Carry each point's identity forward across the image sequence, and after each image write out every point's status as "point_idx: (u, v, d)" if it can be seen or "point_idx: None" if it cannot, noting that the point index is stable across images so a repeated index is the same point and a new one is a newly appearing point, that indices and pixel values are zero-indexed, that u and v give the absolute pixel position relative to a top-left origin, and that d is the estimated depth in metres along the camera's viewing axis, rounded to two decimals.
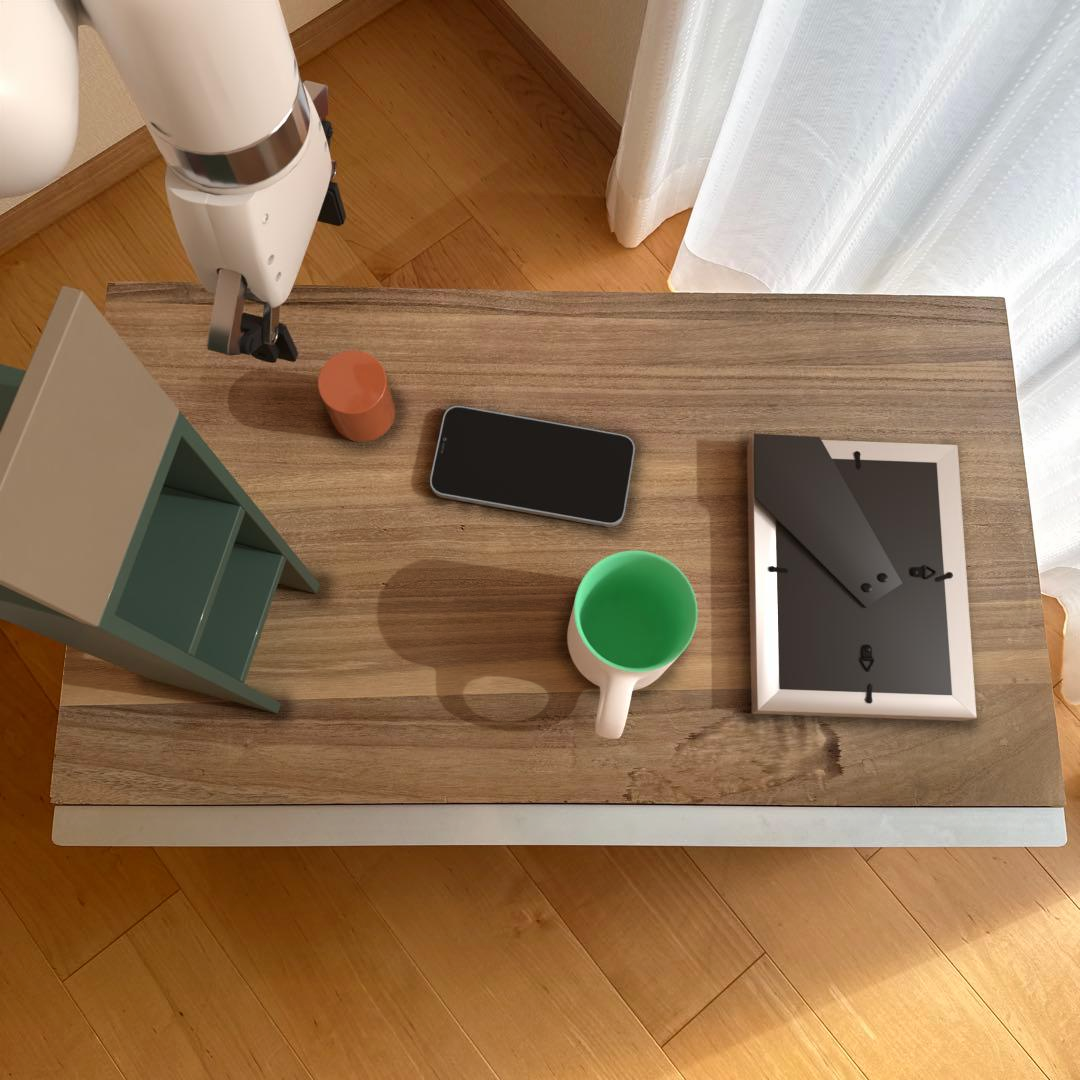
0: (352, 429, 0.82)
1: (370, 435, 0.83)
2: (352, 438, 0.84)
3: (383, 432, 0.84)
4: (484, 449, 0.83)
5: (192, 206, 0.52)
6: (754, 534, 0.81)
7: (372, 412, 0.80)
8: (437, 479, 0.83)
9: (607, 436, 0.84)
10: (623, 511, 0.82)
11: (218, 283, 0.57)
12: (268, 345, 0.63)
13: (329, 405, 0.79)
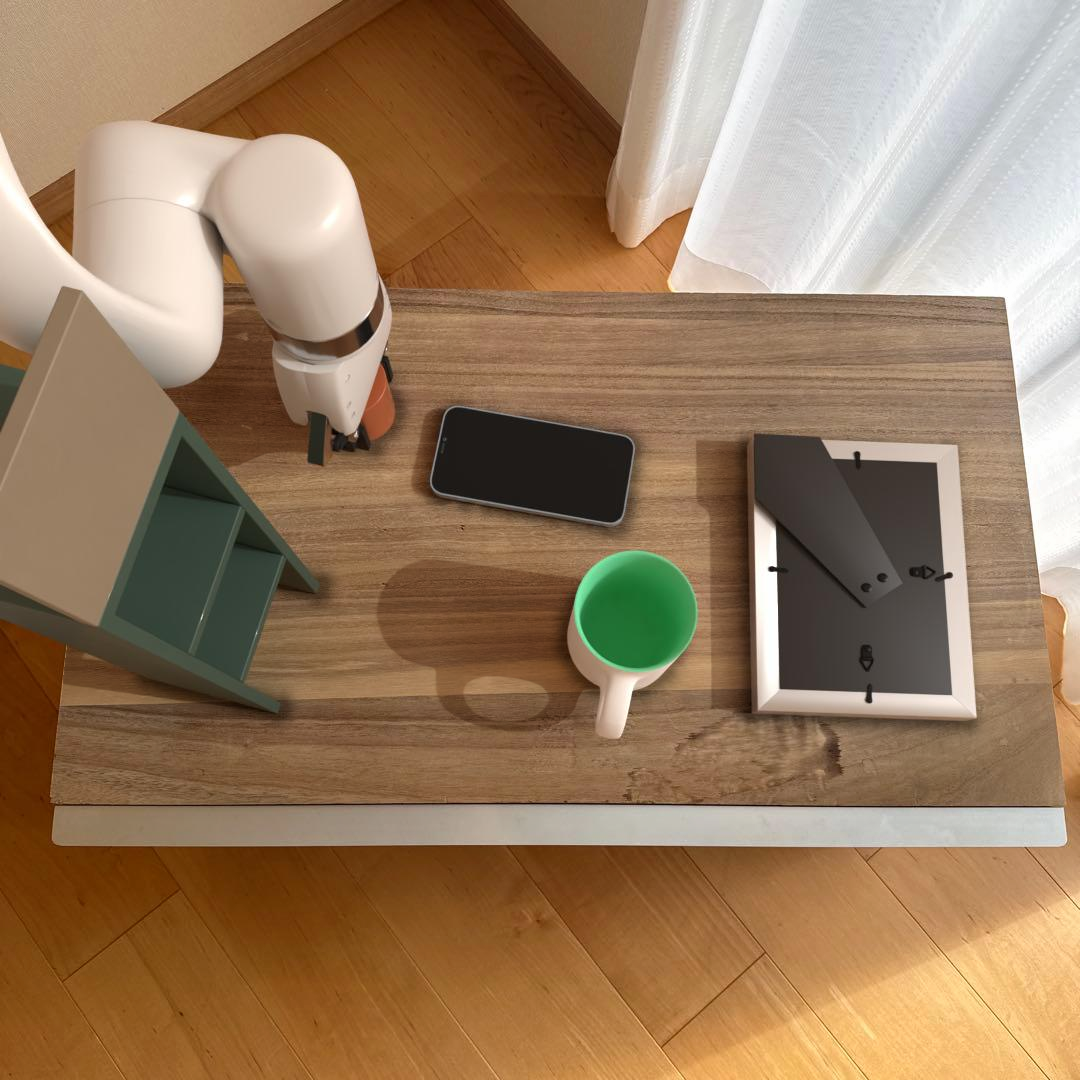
0: None
1: (370, 435, 0.83)
2: None
3: (383, 432, 0.84)
4: (484, 449, 0.83)
5: (293, 373, 0.67)
6: (754, 534, 0.81)
7: (372, 412, 0.80)
8: (437, 479, 0.83)
9: (607, 436, 0.84)
10: (623, 511, 0.82)
11: (310, 421, 0.73)
12: (350, 441, 0.80)
13: None
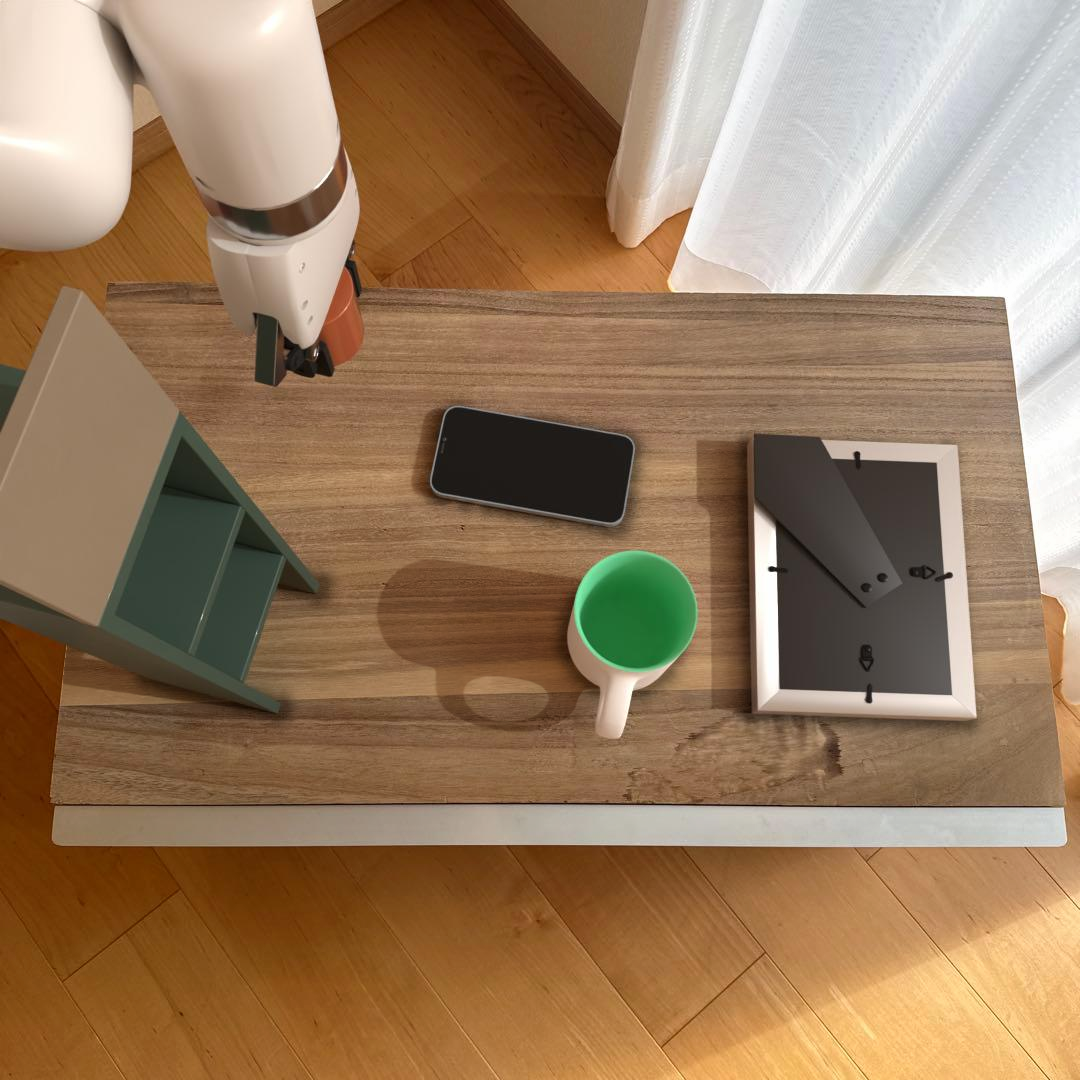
0: None
1: (334, 358, 0.70)
2: None
3: (350, 356, 0.71)
4: (484, 449, 0.83)
5: (233, 256, 0.54)
6: (754, 534, 0.81)
7: (335, 327, 0.66)
8: (437, 479, 0.83)
9: (607, 436, 0.84)
10: (623, 511, 0.82)
11: (257, 327, 0.60)
12: (309, 361, 0.66)
13: None
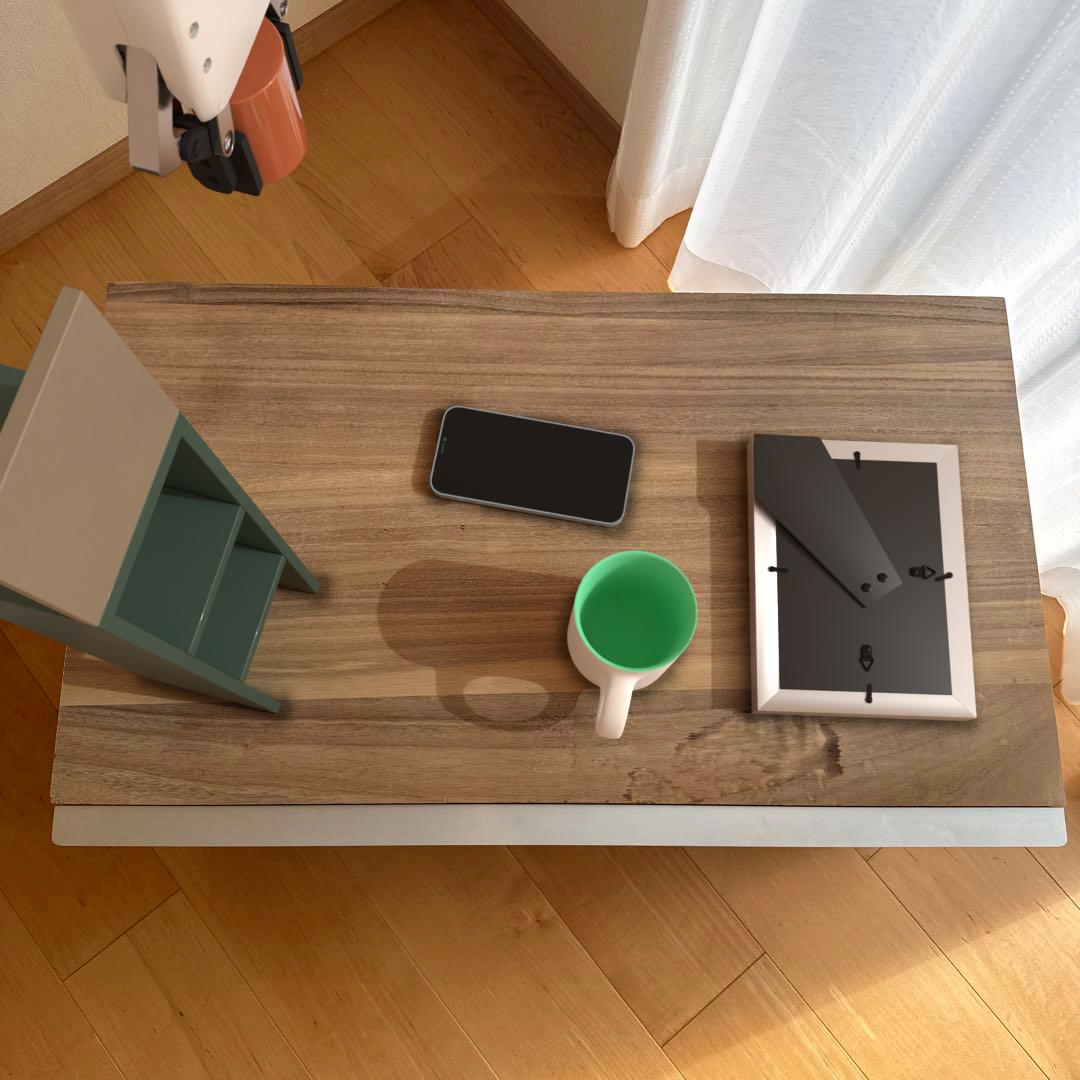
0: None
1: (263, 170, 0.50)
2: None
3: (286, 170, 0.51)
4: (484, 449, 0.83)
5: None
6: (754, 534, 0.81)
7: (259, 109, 0.46)
8: (437, 479, 0.83)
9: (607, 436, 0.84)
10: (623, 511, 0.82)
11: (128, 76, 0.40)
12: (221, 161, 0.47)
13: None
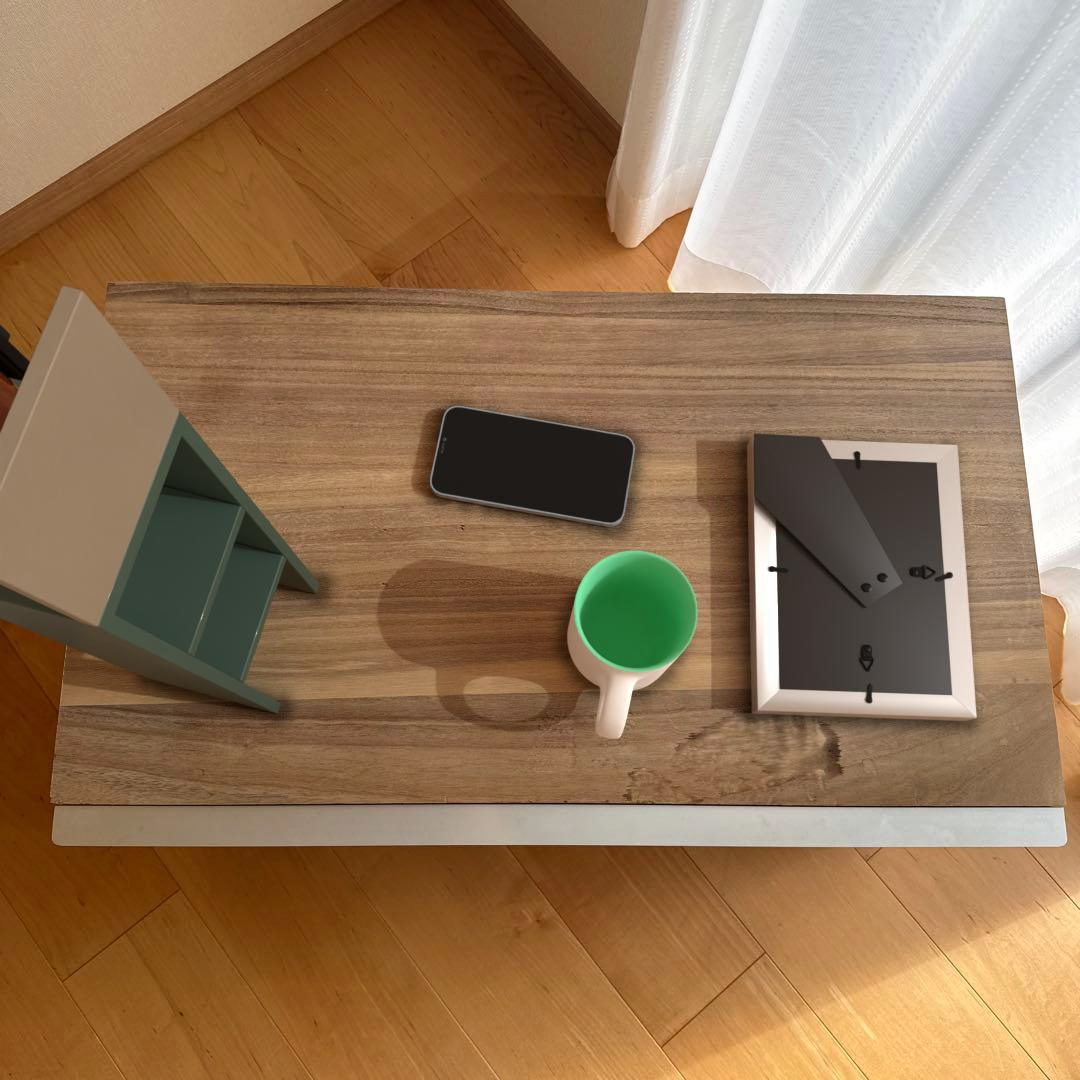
0: None
1: None
2: None
3: None
4: (484, 449, 0.83)
5: None
6: (754, 534, 0.81)
7: None
8: (437, 479, 0.83)
9: (607, 436, 0.84)
10: (623, 511, 0.82)
11: None
12: None
13: None
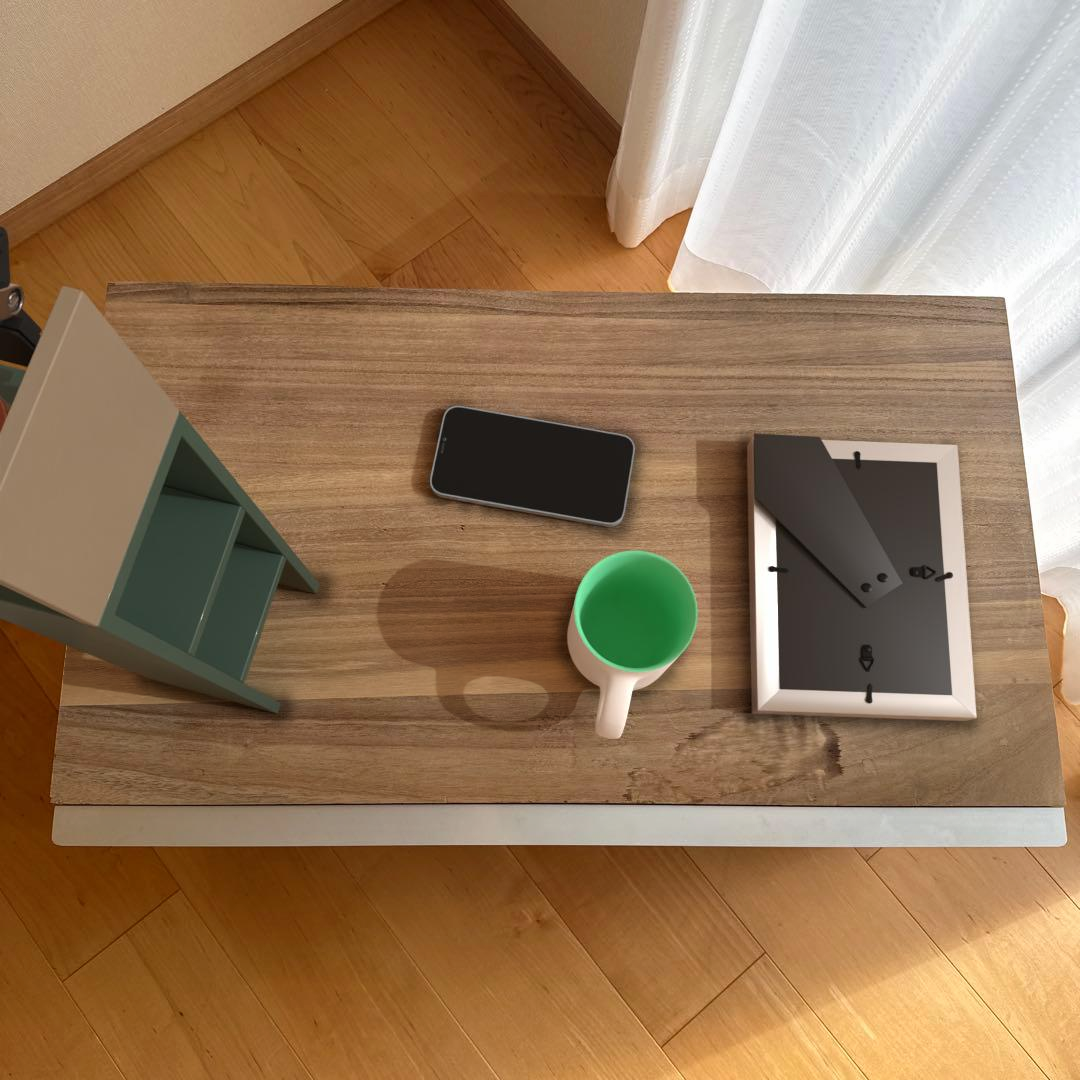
0: None
1: None
2: None
3: None
4: (484, 449, 0.83)
5: None
6: (754, 534, 0.81)
7: None
8: (437, 479, 0.83)
9: (607, 436, 0.84)
10: (623, 511, 0.82)
11: None
12: None
13: None
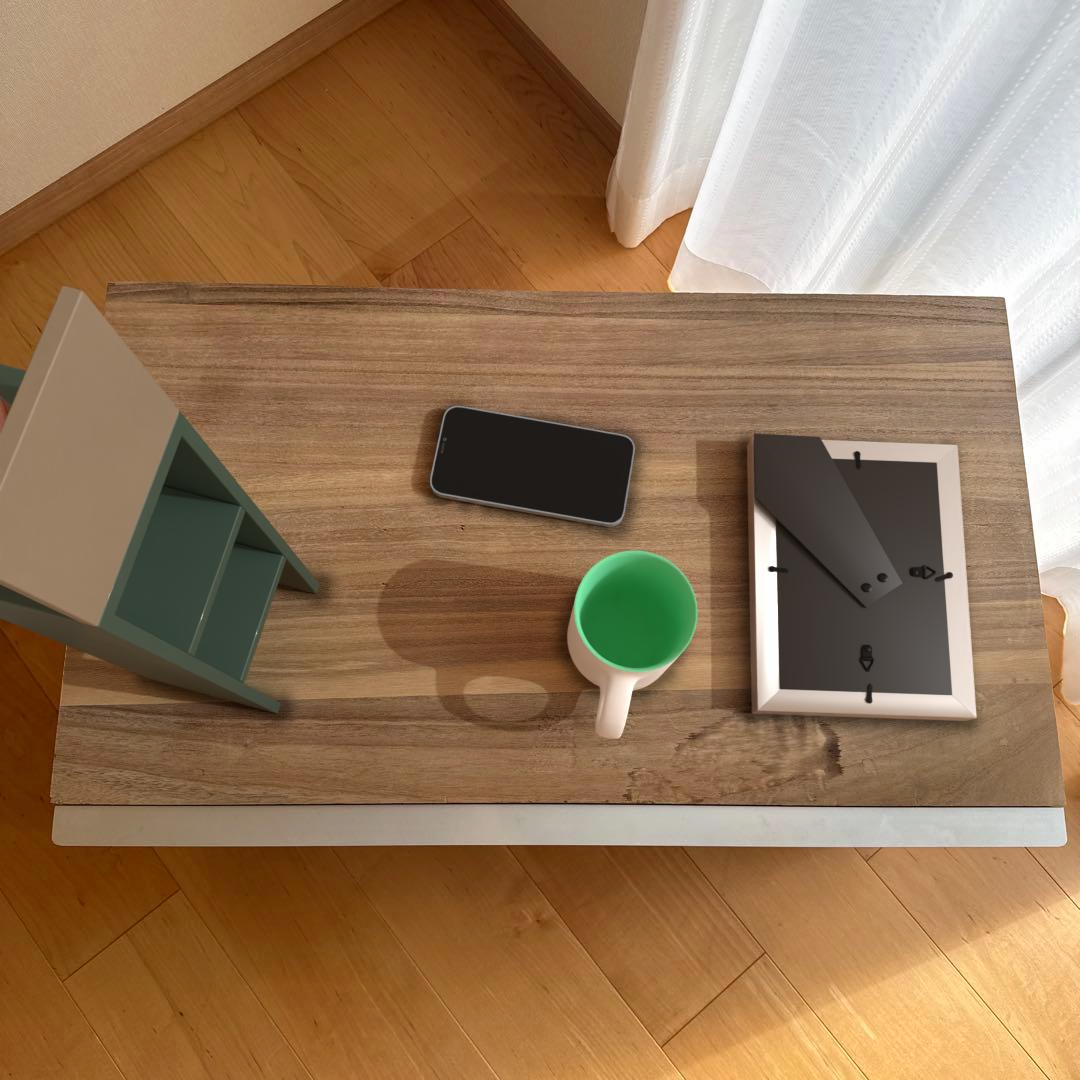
0: None
1: None
2: None
3: None
4: (484, 449, 0.83)
5: None
6: (754, 534, 0.81)
7: None
8: (437, 479, 0.83)
9: (607, 436, 0.84)
10: (623, 511, 0.82)
11: None
12: None
13: None
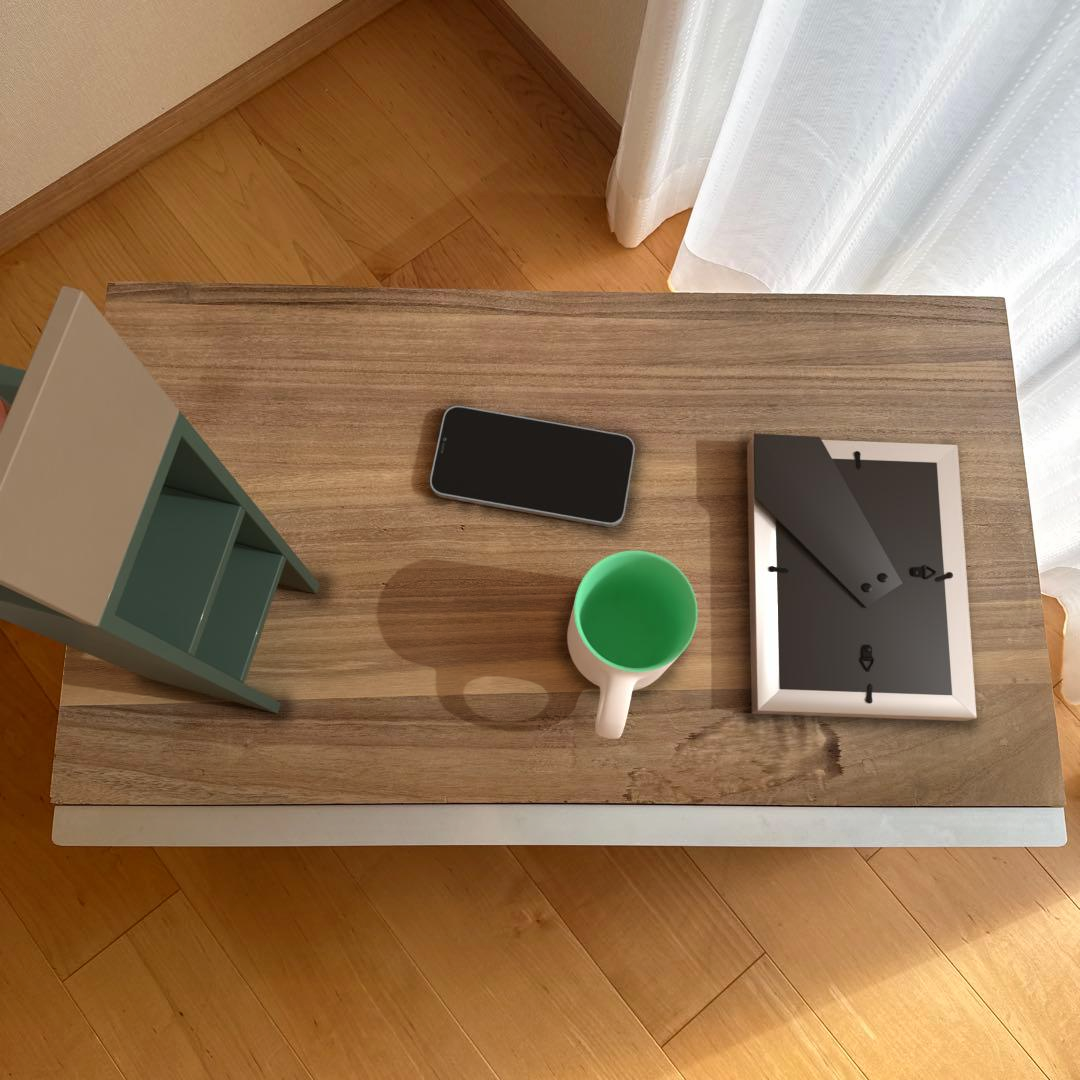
0: None
1: None
2: None
3: None
4: (484, 449, 0.83)
5: None
6: (754, 534, 0.81)
7: None
8: (437, 479, 0.83)
9: (607, 436, 0.84)
10: (623, 511, 0.82)
11: None
12: None
13: None
